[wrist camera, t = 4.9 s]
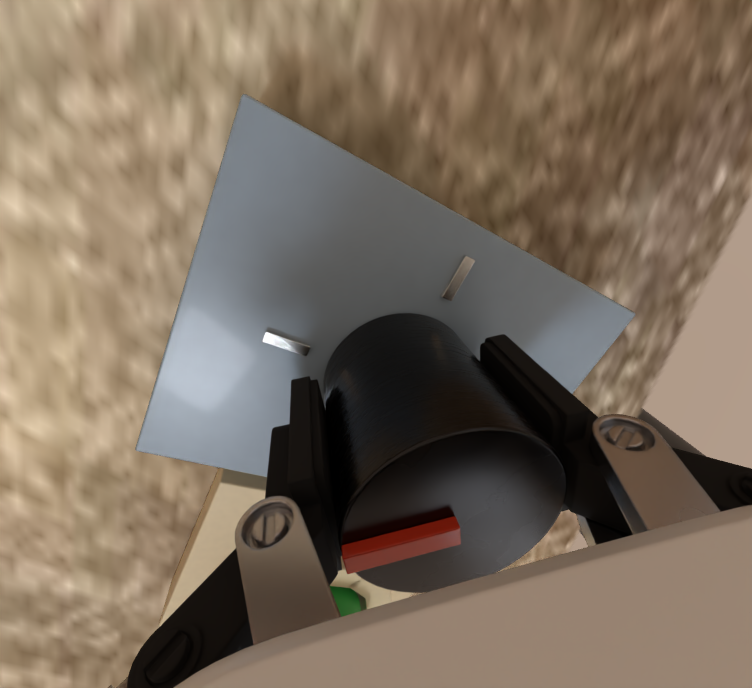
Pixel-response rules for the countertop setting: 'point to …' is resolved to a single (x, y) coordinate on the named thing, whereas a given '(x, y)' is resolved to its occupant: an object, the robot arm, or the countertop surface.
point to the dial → (431, 459)
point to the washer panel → (336, 289)
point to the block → (218, 542)
